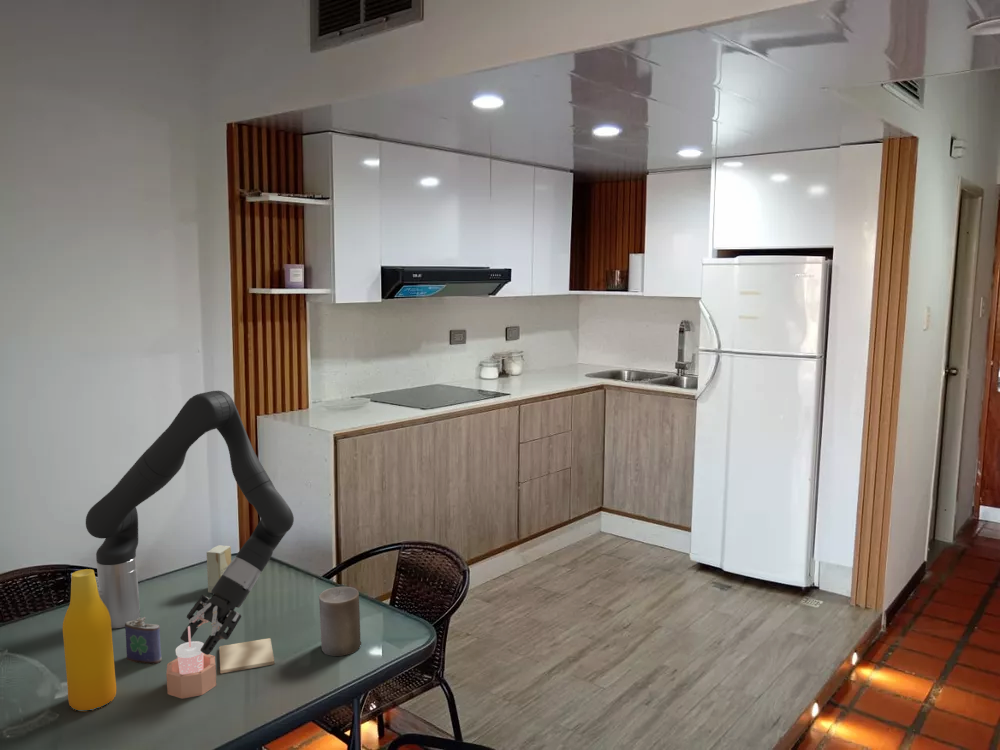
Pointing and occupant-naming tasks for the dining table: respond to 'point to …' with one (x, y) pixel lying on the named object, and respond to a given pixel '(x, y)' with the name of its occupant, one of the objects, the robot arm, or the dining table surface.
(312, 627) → the dining table surface
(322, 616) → the pillar candle
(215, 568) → the skincare box
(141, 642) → the flask
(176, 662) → the ceramic ring
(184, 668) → the beverage cup
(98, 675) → the beer bottle
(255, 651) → the wooden coaster
